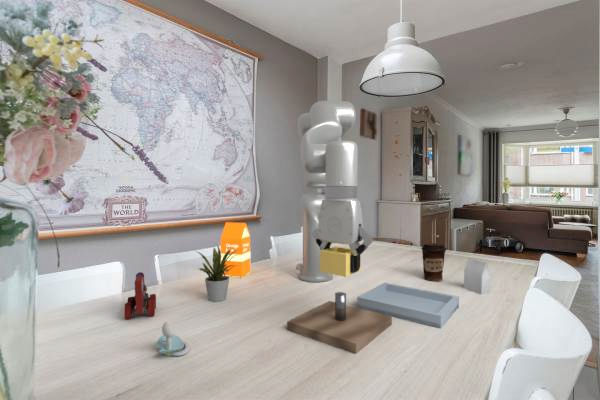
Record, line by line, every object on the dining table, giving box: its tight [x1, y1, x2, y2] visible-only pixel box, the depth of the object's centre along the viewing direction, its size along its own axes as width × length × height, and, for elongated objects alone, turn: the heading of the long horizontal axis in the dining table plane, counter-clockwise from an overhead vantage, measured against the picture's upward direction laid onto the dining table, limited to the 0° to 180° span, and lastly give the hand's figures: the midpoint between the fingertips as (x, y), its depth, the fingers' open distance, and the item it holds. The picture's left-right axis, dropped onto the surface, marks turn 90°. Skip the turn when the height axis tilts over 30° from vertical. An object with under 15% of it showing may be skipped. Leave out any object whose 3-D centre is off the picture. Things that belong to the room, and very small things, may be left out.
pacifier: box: [156, 321, 191, 357], centre depth 67 cm, size 7×6×6 cm
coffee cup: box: [421, 242, 447, 282], centre depth 120 cm, size 9×8×13 cm
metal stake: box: [334, 291, 347, 321], centre depth 78 cm, size 3×3×6 cm
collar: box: [320, 246, 362, 278], centre depth 78 cm, size 7×7×5 cm
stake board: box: [286, 300, 393, 354], centre depth 78 cm, size 18×18×2 cm
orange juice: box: [220, 221, 251, 278], centre depth 126 cm, size 8×9×20 cm
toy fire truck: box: [123, 271, 157, 320], centre depth 87 cm, size 7×12×10 cm, turn 21°
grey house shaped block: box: [463, 257, 491, 295], centre depth 107 cm, size 4×7×10 cm, turn 20°
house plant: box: [195, 244, 243, 303], centre depth 97 cm, size 14×14×16 cm
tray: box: [356, 282, 460, 329], centre depth 91 cm, size 22×18×3 cm
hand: (340, 268), depth 78 cm, fingers closed on collar, 7 cm apart
